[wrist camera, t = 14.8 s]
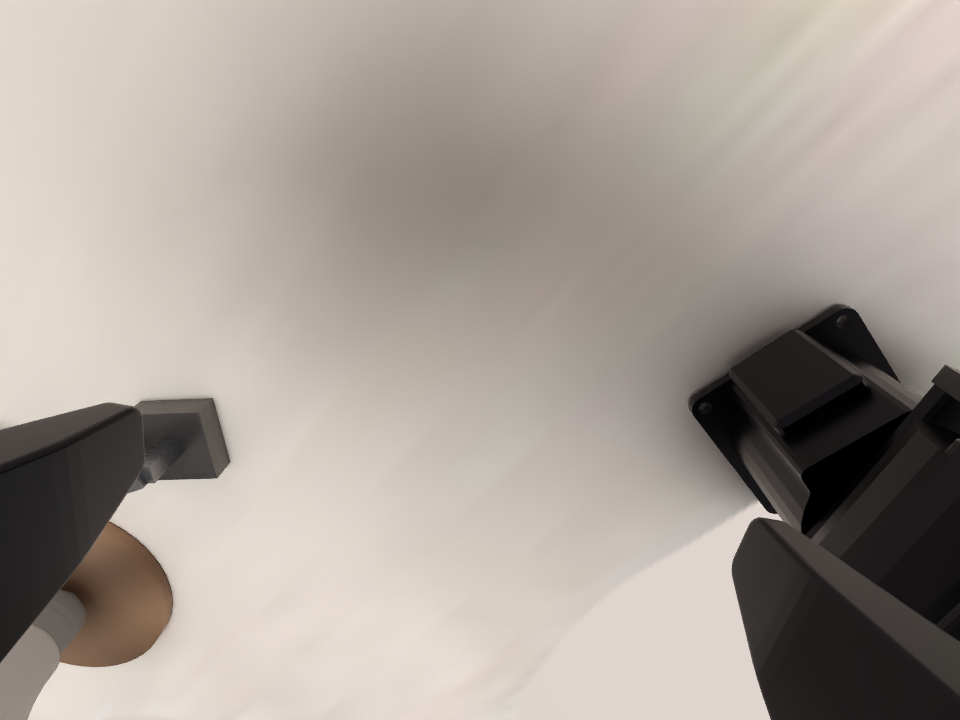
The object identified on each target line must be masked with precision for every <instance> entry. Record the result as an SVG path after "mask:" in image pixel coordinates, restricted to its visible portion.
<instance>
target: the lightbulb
mask: <svg viewBox="0 0 960 720" xmlns="http://www.w3.org/2000/svg"><path fill="white" fill-rule="evenodd" d="M85 621H86V611H85V608H84V606H83V604H82V603H81V602H80V600H79V598H78V596H77V595H76V594H74V593H72V592H70V591H63V590H59V592H58V593H57V594H56V595H55V596H54V598H53V599H52V600H51V601H50V603H49V604H48V605H47V606H46V608H45V609H44V610H43V611H42V613H41V614H40V615H39V616H38V617H37V619H36V620H35V621H34V622H33V624H32V625H31V626H30V627H29V629H28V630H27V631H26V632H25V634H24V635H23V636H22V637H21V638H20V640H19V641H18V642H17V643H16V645H15V646H14V647H13V648H12V650H11V651H10V652H9V653H8V655H7V656H6V657H5V658H4V659H3V661H2V662H1V663H0V720H27V719H28V716H29V714H30V711H31V709H32V706H33V704H34V702H35V700H36V699H37V697H38V695H39V693H40V692H41V690H42V688H43V686H44V685H45V683H46V682H47V681H48V679H49V678H50V677H51V675H52V674H53V673H54V671H55V670H56V668H57V666H58V664H59V661H60V655H61V654H62V652H63V651H64V650H65V649H66V648H67V647H68V646H69V644H70V642H71V641H72V640H73V639H74V638H75V636H76V635H77V633H78V631H79V630H80V629H81V628H82V626H83V625H84V623H85Z"/></svg>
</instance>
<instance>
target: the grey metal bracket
mask: <svg viewBox="0 0 960 720" xmlns="http://www.w3.org/2000/svg"><path fill="white" fill-rule="evenodd" d="M134 407H136V408H137V409H139V410H140V411H141V414H142V418H143V431H144V447H145V460H144V465H143V468H142V470H141V472H140V474H139V476H138V477H137V479H136V481H135V482H134V484H133V485H132V487H131V488H130V490H129V491H128V493H130V492H133V491H137V490H140V489H143V488H144V487H145V486H146V485H147V484H148V483H155V482H156V481H157V480H178V479H211V478H218V477H219V475H220V474H221V473H222V472H223V470H224V469H225V468H226V467H227V465H228V464H229V463H230V459H229V455H228V452H227V448H226V444H225V441H224V437H223V434H222V430H221V426H220V423H219V419H218V415H217V412H216V408H215V404H214V401H213V398H208V399H183V400H157V401H141V402H139V403H138V404H137V405H135V406H134Z"/></svg>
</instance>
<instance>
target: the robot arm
mask: <svg viewBox="0 0 960 720" xmlns="http://www.w3.org/2000/svg"><path fill="white" fill-rule="evenodd" d="M843 315H845V316H846V318H845V320H844V321H843V322H842V323H841V324H838V325H837V323H836V322H837V320H838V318H839V317H840V316H843ZM932 382H933V383H934V386H933V387H932V388H931V389H930V390H929V391H928V393H927V394H926V395H925V396H924V397H923V398H922V397H920V396H919V395H917V394H916V393H914V392H913V391H911V390H910V389H908V388H907V387H905V386H904V385H902V384H901V383H900V381H899V380H898V378H897V376H896V375H895V373H894V371H893V370H892V368H891V366H890V365H889V363H888V362H887V360H886V358H885V357H884V355H883V353H882V352H881V350H880V348H879V347H878V345H877V344H876V342H875V340H874V339H873V337H872V335H871V334H870V332H869V330H868V329H867V327H866V326H865V324H864V322H863V321H862V319H861V317H860V316H859V314H858V313H857V312H856V311H855V310H854V309H852V308H850V307H849V306H846V305H836V306H834V307H832V308H830V309H828V310H827V311H825V312H824V313H822V314H821V315H819V316H817V317H816V318H814V319H813V320H811V321H810V322H808V323H806V324H805V325H803V326H802V327H800V328H799V329H797V330H791V331H789V332H788V333H786V334H784V335H783V336H781V337H780V338H778V339H777V340H775V341H773V342H772V343H770V344H769V345H767V346H766V347H764V348H762V349H761V350H759V351H758V352H756V353H755V354H753V355H752V356H750V357H748V358H747V359H745V360H744V361H742V362H741V363H739V364H737V365H736V366H734V367H733V368H732V369H731V372H730V373H728V374H726V375H725V376H723V377H722V378H720V379H719V380H717V381H715V382H714V383H712V384H711V385H709V386H708V387H706V388H704V389H703V390H701V391H700V392H698V393H697V394H695V395H694V396H693V397H692V398H691V399H690V401H689V409H690V411H691V412H692V414H693V416H694V417H695V418H696V420H697V421H698V422H699V423H700V425H701V426H702V427H703V429H704V430H705V431H706V432H707V434H708V435H709V436H710V438H711V439H712V440H713V442H714V443H715V444H716V445H717V447H718V448H719V449H720V451H721V452H722V453H723V455H724V456H725V457H726V458H727V460H728V461H729V462H730V464H731V465H732V466H733V468H734V469H735V470H736V471H737V473H738V474H739V475H740V477H741V478H742V479H743V481H744V482H745V483H746V484H747V486H748V487H749V488H750V490H751V491H752V492H753V494H754V495H755V496H756V497H757V499H758V500H759V501H760V503H761V504H762V505H763V506H764V508H765V509H766V510H767V511H768V512H769V513H773V514H779V516H780V517H781V519H782V520H783V521H779V520H772V519H767V518H760V517H759V518H756V519H754V520H753V521H752V522H751V523H750V524H749V526H748V528H747V531H746V533H745V535H744V537H743V539H742V541H741V543H740V546H739V548H738V550H737V552H736V554H735V557H734V559H733V563H732V577H733V581H734V586H735V590H736V594H737V599H738V602H739V607H740V611H741V615H742V620H743V624H744V628H745V632H746V637H747V641H748V645H749V649H750V653H751V658H752V662H753V665H754V669H755V672H756V676H757V679H758V682H759V686H760V689H761V692H762V695H763V698H764V701H765V704H766V707H767V710H768V713H769V715H770V718H771V720H960V371H958V370H956V369H954V368H952V367H949V366H947V365H945V366H944V367H943V368H942V369H941V370H940V372H939V373H938V374H937V375H936V376H935V377H934V379H933V380H932ZM703 403H709V405H708V407H707V408H706V409H703V410H700V409H699V406H700V405H701V404H703ZM144 460H145V447H144V431H143V418H142V414H141V411H140V410H139V409H137V408H136V407H133V406H128V405H122V404H117V403H103V404H99V405H95V406H91V407H87V408H83V409H80V410H76V411H72V412H68V413H64V414H60V415H56V416H52V417H48V418H44V419H40V420H37V421H33V422H29V423H25V424H21V425H17V426H13V427H9V428H5V429H1V430H0V663H1V662H2V661H3V659H4V658H5V657H6V656H7V655H8V653H9V652H10V651H11V650H12V648H13V647H14V646H15V645H16V643H17V642H18V641H19V640H20V638H21V637H22V636H23V635H24V634H25V632H26V631H27V630H28V629H29V627H30V626H31V625H32V624H33V622H34V621H35V620H36V619H37V617H38V616H39V615H40V614H41V613H42V611H43V610H44V609H45V608H46V606H47V605H48V604H49V603H50V601H51V600H52V599H53V598H54V596H55V595H56V594H57V593H58V592H59V590H60V589H61V588H62V587H63V585H64V584H65V583H66V582H67V580H68V579H69V578H70V577H71V575H72V574H73V573H74V571H75V570H76V569H77V568H78V566H79V565H80V564H81V562H82V561H83V559H84V558H85V557H86V555H87V554H88V552H89V551H90V549H91V548H92V546H93V545H94V543H95V542H96V540H97V539H98V537H99V536H100V534H101V533H102V531H103V530H104V528H105V526H106V525H107V523H108V522H109V520H110V519H111V517H112V516H113V514H114V513H115V511H116V510H117V508H118V507H119V505H120V503H121V502H122V500H123V499H124V497H125V496H126V494H127V493H128V491H129V490H130V488H131V487H132V485H133V484H134V482H135V481H136V479H137V477H138V476H139V474H140V472H141V470H142V468H143V465H144Z"/></svg>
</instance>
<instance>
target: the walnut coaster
mask: <svg viewBox="0 0 960 720" xmlns="http://www.w3.org/2000/svg"><path fill="white" fill-rule="evenodd" d="M60 590H63V591H70V592H72V593H74V594H76V595H77V596H78V598H79V600H80V602H81V603H82V604H83V606H84V608H85V611H86V621H85V623H84V625H83V626H82V628H81V629H80V630H79V631H78V633H77V635H76V636H75V638H74V639H73V640H72V641H71V642H70V644H69V646H68V647H67V648H66V649H65V650H64V651H63V652H62V654H61V655H60V661H59V662H62V663H67V664H71V665H78V666H87V667H106V666H113V665H119V664H122V663H126V662H129V661H131V660H133V659H136V658H137V657H139V656H141V655H143V654H144V653H145V652H146V651H148V650H149V649H150V648H151V647H152V645H153V644H154V643H155V642H156V640H157V639H158V637H159V636H160V634H161V633H162V631H163V630H164V628H165V627H166V625H167V623H168V621H169V619H170V615H171V612H172V593H171V589H170V585H169V582H168V580H167V578H166V575H165V573H164V572H163V570H162V568H161V566H160V565H159V564H158V562H157V561H156V560H155V558H154V557H153V556H152V555H151V554H150V552H149V551H148V550H147V549H146V548H145V547H144V546H143V545H142V544H140V543H139V542H138V541H137V540H136V539H135V538H133V537H132V536H130V535H129V534H128V533H126V532H125V531H123V530H122V529H120V528H118V527H117V526H115V525H113V524H111V523H109V522H108V523H107V525H106V526H105V528H104V530H103V531H102V533H101V534H100V536H99V537H98V539H97V540H96V542H95V543H94V545H93V546H92V548H91V549H90V551H89V552H88V554H87V555H86V557H85V558H84V559H83V561H82V562H81V564H80V565H79V566H78V568H77V569H76V570H75V571H74V573H73V574H72V575H71V577H70V578H69V579H68V580H67V582H66V583H65V584H64V585H63V587H62V588H61V589H60Z"/></svg>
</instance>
